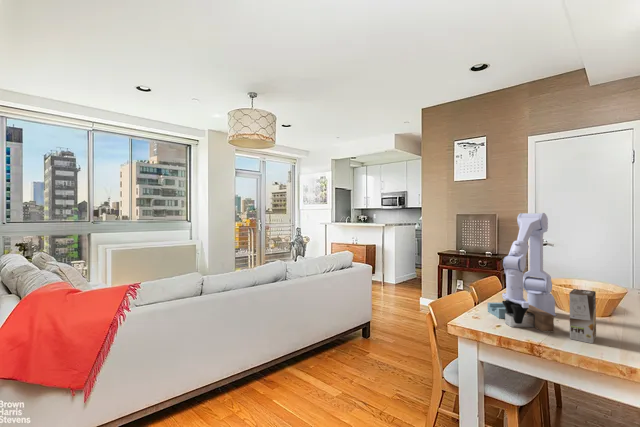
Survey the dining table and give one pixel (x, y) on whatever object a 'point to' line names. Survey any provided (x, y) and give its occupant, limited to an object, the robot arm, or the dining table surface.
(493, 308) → the v block
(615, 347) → the dining table surface
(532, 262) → the robot arm
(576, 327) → the coffee box
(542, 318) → the brown bridge block
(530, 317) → the grey rectangular bar
